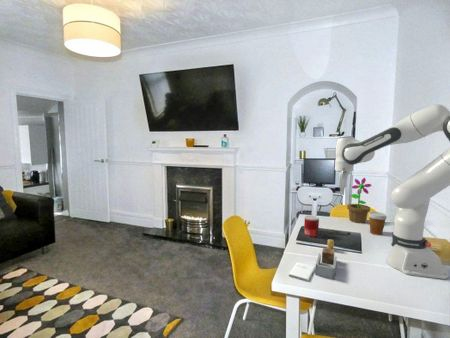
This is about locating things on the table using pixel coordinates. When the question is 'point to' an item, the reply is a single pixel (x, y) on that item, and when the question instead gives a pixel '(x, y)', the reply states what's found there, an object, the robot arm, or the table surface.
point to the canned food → (311, 226)
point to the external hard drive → (302, 271)
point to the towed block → (328, 252)
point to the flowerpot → (358, 210)
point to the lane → (325, 269)
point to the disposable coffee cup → (377, 222)
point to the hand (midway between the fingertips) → (342, 192)
